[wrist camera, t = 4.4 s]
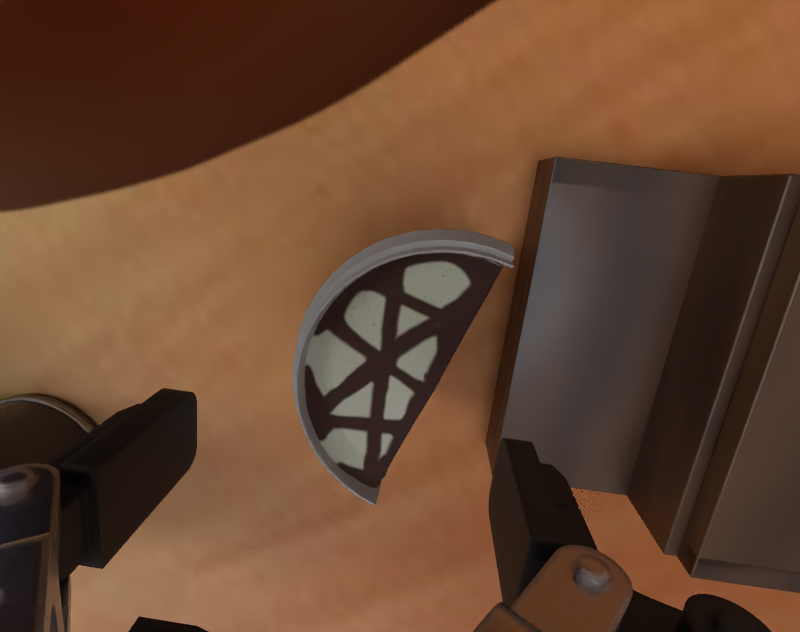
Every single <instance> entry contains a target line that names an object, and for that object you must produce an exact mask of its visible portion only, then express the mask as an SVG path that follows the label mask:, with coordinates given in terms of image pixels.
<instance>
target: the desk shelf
mask: <svg viewBox="0 0 800 632" xmlns="http://www.w3.org/2000/svg"><path fill="white" fill-rule="evenodd" d="M502 438H510V439H516V440H523V441H530V442H532V443H533V445H534V447H535V450H536V452H537V455H538V458H539V460H540V463H544V464H551V465H553V466H554V467H555V468H556V469H557V470H558V471H559V472H560V473H561V474H562V475H563V476H564V477H565V478H566V479H567V482H568V484H569V486H570V487H572V488H579V489H586V490H593V491H601V492H608V493H615V494H622V495H627V496H628V498H629V500H630V501H631V503H632V504H633V506H634V508H635V509H636V511H637V512H638V514H639V515H640V517H641V519H642V520H643V522H644V523H645V525H646V527H647V528H648V530H649V531H650V533H651V535H652V536H653V538H654V539H655V541H656V543H657V544H658V546H659V547H660V549H661V551H662V552H663V553H664V554H666V555H673V556H677V557H678V559H679V560H680V562H681V563H682V565H683V566H684V568H685V569H686V571H687V572H688V574H689V575H690V577H692V578H699V579H706V580H713V581H720V582H727V583H734V584H741V585H748V586H754V587H761V588H768V589H775V590H782V591H789V592H796V593H800V175H797V174H770V175H739V176H716V175H708V174H699V173H691V172H682V171H674V170H665V169H656V168H648V167H639V166H631V165H622V164H613V163H605V162H596V161H588V160H579V159H570V158H562V157H553V158H549V159H545V160H541V161H539V162H538V167H537V172H536V178H535V183H534V188H533V194H532V199H531V204H530V210H529V215H528V220H527V226H526V231H525V236H524V242H523V247H522V252H521V258H520V263H519V268H518V274H517V279H516V284H515V290H514V295H513V300H512V305H511V311H510V316H509V321H508V327H507V332H506V337H505V343H504V348H503V353H502V359H501V364H500V369H499V375H498V380H497V385H496V391H495V396H494V401H493V407H492V412H491V417H490V423H489V428H488V433H487V438H486V447H487V452H488V456H489V461H490V467H491V471H492V476H493V473H494V468H495V463H496V458H497V453H498V448H499V444H500V441H501V439H502Z"/></svg>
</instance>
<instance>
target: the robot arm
mask: <svg viewBox="0 0 800 632" xmlns="http://www.w3.org/2000/svg"><path fill="white" fill-rule="evenodd" d="M196 450H197V400H196V396H195V394H194V393H193V392H188V391H181V390H174V389H167V388H163V389H161V390H159V391H158V392H157V393H155V394H154V395H153V396H151V397H150V398H149V399H147V400H146V401H145V402H143V403H142V404H136V405H134V406H131V407H129V408H126V409H124V410H121V411H119V412H117V413H115V414H114V415H113V416H111V417H110V418H108V419H107V420H106V421H104V422H103V423H102V425H101V426H100V425H99V426H97V427H95V426H94V425H93V424H92V423H91V422H90V420H88V419H87V418H86V417H85V416H84V415H83V414H81V413H80V412H79V411H77V410H76V409H74V408H73V407H71V406H69V405H68V404H66V403H64V402H61V401H59V400H56V399H54V398H50V397H47V396H42V395H34V394H23V395H16V396H12V397H9V398H6V399H4V400H2V401H0V632H70V613H71V580H70V574H71V573H72V572H73V571H74V570H75V569H76V567H77V566H78V565H82V566H88V567H95V568H101V569H103V568H104V567H105V566H106V564H107V563H108V562H109V561H110V560H111V559H112V557H113V556H114V555H115V554H116V553H117V552H118V551H119V549H120V548H121V547H122V546H123V545H124V544H125V542H126V541H127V540H128V539H129V538H130V537H131V536H132V534H133V533H134V532H135V531H136V530H137V529H138V527H139V526H140V525H141V524H142V523H143V522H144V520H145V519H146V518H147V517H148V516H149V515H150V514H151V512H152V511H153V510H154V509H155V508H156V507H157V505H158V504H159V503H160V502H161V501H162V500H163V499H164V497H165V496H166V495H167V494H168V493H169V492H170V490H171V489H172V488H173V487H174V486H175V485H176V484H177V482H178V481H179V480H180V479H181V478H182V477H183V475H184V474H185V473H186V472H187V471H188V470H189V468H190V467H191V465H192V463H193V460H194V458H195V454H196ZM489 518H490V524H491V531H492V537H493V543H494V549H495V555H496V562H497V568H498V574H499V580H500V587H501V593H502V599H503V603H502V602H500V603H498V604H497V605H495V606H494V607H493V608H492V610H491V611H490V612H489V613H488V614H487V615H486V617H485V618H484V619H483V620H482V621H481V622H480V624H479V625H478V626H477V627H476V628H475V630H474V631H473V632H771V631H770V630H769V629H768V627H767V626H766V625H765V624H763V623H762V622H761V621H760V620H759V619H758V618H756V617H755V616H754V615H753V614H751V613H750V612H748V611H747V610H745V609H744V608H742V607H740V606H739V605H737V604H735V603H733V602H731V601H729V600H726V599H724V598H721V597H718V596H714V595H709V594H697V595H693V596H691V597H689V598H688V599H687V601H686V603H685V606H684V609H683V611H681V610H679V609H676V608H674V607H671V606H669V605H666V604H664V603H661V602H659V601H656V600H654V599H651V598H649V597H647V596H644V595H642V594H640V593H638V592H637V591H635V590H633V588H632V584H631V581H630V579H629V577H628V576H627V574H626V573H625V571H624V570H623V569H622V568H621V567H620V566H619V565H618V564H617V563H616V562H615V561H613V560H612V559H611V558H609V557H608V556H606V555H605V554H603V553H601V552H599V551H598V549H597V547H596V545H595V543H594V540H593V538H592V536H591V534H590V531H589V529H588V527H587V525H586V522H585V520H584V518H583V516H582V513H581V511H580V509H578V504H577V502H576V500H575V497H573V493H572V491H571V488H570V486H569V484H568V482H567V479H566V478H565V477H564V476H563V475H562V474H561V473H560V472H559V471H558V470H557V469H556V468H555V467H554V466H553V465H551V464H544V463H540V460H539V458H538V455H537V452H536V450H535V447H534V445H533V443H532V442H530V441H523V440H516V439H510V438H502V439H501V441H500V444H499V448H498V453H497V458H496V463H495V468H494V473H493V478H492V483H491V488H490V494H489ZM129 632H208V631H206V630H204V629H202V628H200V627H198V626H194V625H187V624H181V623H175V622H169V621H163V620H157V619H151V618H145V617H138V619H137V620H136V622H135V623H134V624H133V626H132V627H131V629H130V630H129Z"/></svg>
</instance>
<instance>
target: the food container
mask: <svg viewBox="0 0 800 632" xmlns="http://www.w3.org/2000/svg"><path fill="white" fill-rule="evenodd" d="M514 257H515V255H514V250H513V245H511V244H508V243H506V242H503V241H501V240H498V239H496V238H493V237H491V236H487V235H483V234H479V233H475V232H470V231H466V230H454V229H428V230H416V231H412V232H408V233H404V234H399V235H395V236H391V237H389V238H387V239H384V240H382V241H380V242H377V243H375V244H372V245H370V246H368V247H367V248H365V249H363V250H362V251H360V252H359V253H357V254H355V255H354V256H352V257H351V258H349V259H348V260H347V261H346V262H344V263H343V264H342V265H341V266H340V267H339V268H338V269H337V270H335V271H334V272H333V273H332V274H331V275H330V276H329V278H328V279H327V280H326V281H325V283H324V284H323V285H322V286H321V288H320V289H319V290H318V291H317V293H316V295H315V296H314V298H313V300H312V302H311V304H310V305H309V307H308V309H307V311H306V313H305V316H304V319H303V322H302V325H301V328H300V330H299V335H298V340H297V345H296V351H295V356H294V362H293V392H294V398H295V404H296V409H297V412H298V415H299V418H300V421H301V424H302V427H303V430H304V433H305V436H306V437H307V439H308V441H309V443H310V445H311V447H312V449H313V451H314V453H315V454H316V455H317V457H318V458H319V460H320V461H321V462H322V464H323V465H324V466H325V468H326V469H327V470H328V471H329V472H330V473H331V474H332V475H333V476H334V477H335V478H336V479H337V480H338V481H339V482H340V483H341V484H342V485H343V486H344V487H346V488H347V489H348V490H350V491H351V492H352V493H354V494H355V495H356V496H358V497H359V498H361V499H363V500H365V501H367V502H368V503H370V504H372V505H374V506H375V505H376V502H377V498H378V493H379V489H380V484H381V480H382V479H383V477H384V476H385V474H386V472H387V469H388V467H389V465H390V463H391V462H392V460H393V458H394V456H395V454H396V453H397V451H398V449H399V448H400V446H401V444H402V443H403V441H404V439H405V437H406V436H407V434H408V432H409V431H410V429H411V427H412V426H413V424H414V422H415V421H416V419H417V417H418V416H419V414H420V412H421V411H422V409H423V408H424V406H425V404H426V403H427V401H428V399H429V398H430V396H431V395H432V393H433V391H434V390H435V388H436V386H437V384H438V382H439V381H440V379H441V377H442V375H443V373H444V371H445V369H446V367H447V366H448V364H449V362H450V360H451V358H452V356H453V355H454V353H455V351H456V349H457V347H458V346H459V344H460V342H461V340H462V338H463V337H464V335H465V333H466V331H467V330H468V328H469V326H470V324H471V323H472V321H473V319H474V317H475V316H476V314H477V312H478V310H479V309H480V307H481V305H482V303H483V302H484V300H485V298H486V296H487V295H488V293H489V291H490V289H491V287H492V286H493V284H494V282H495V280H496V279H497V277H498V275H499V273H500V271H501V270H502V268H503V266H502V265H505V266H508V267H511V268H513V267H514V265H513V264H512V261H513V259H514ZM500 264H501V265H500Z"/></svg>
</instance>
